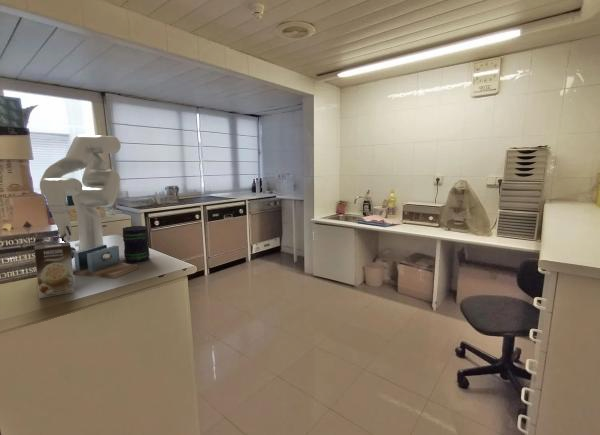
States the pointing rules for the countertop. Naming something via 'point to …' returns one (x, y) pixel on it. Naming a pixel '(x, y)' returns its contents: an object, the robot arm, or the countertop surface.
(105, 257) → the shaft
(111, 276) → the base plate
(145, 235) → the storage jar
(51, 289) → the coffee box
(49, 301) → the countertop surface
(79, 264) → the bearing blocks
